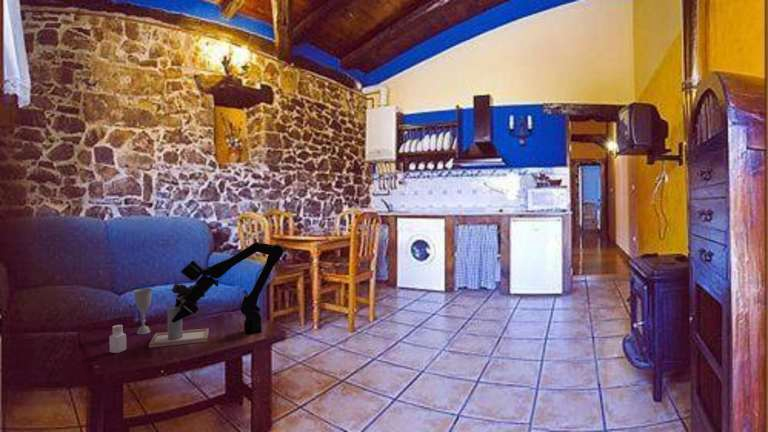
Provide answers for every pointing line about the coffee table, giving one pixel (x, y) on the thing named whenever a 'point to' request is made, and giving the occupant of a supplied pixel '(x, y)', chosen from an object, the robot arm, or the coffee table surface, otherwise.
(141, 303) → the chalice
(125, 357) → the coffee table surface
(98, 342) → the coffee table surface
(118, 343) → the pepper shaker
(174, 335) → the grey upright block
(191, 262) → the robot arm
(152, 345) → the serving tray
